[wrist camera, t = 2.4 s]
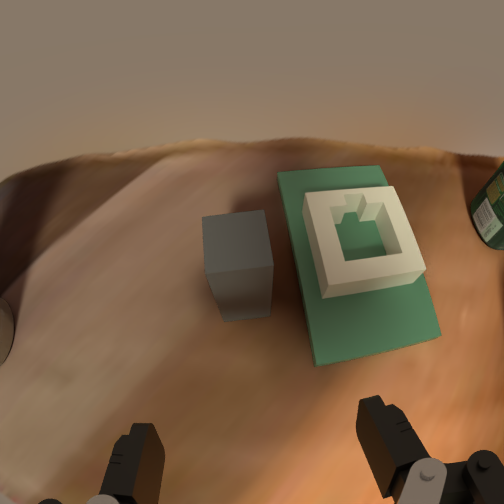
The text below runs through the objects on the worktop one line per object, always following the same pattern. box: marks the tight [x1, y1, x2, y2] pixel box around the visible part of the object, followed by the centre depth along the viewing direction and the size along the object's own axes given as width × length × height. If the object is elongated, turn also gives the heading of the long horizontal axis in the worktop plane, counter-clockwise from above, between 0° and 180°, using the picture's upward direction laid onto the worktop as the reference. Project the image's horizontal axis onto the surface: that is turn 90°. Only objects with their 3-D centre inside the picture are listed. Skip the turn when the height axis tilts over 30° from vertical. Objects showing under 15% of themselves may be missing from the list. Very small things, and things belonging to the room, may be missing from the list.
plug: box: [202, 210, 274, 322], centre depth 24 cm, size 4×5×10 cm
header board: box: [277, 165, 441, 367], centre depth 28 cm, size 12×20×4 cm, turn 7°
